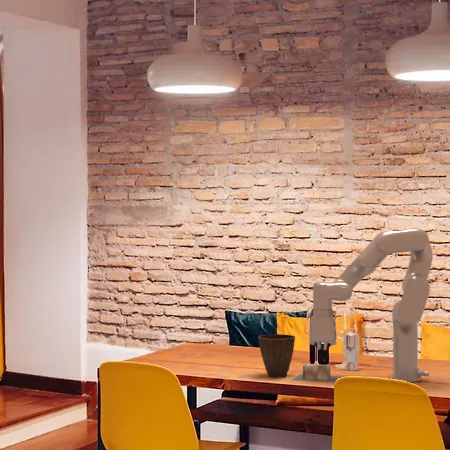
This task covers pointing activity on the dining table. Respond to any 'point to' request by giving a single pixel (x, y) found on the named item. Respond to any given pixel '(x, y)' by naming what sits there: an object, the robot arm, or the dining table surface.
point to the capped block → (316, 371)
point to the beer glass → (351, 351)
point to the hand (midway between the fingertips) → (322, 359)
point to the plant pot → (277, 353)
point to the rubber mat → (332, 379)
